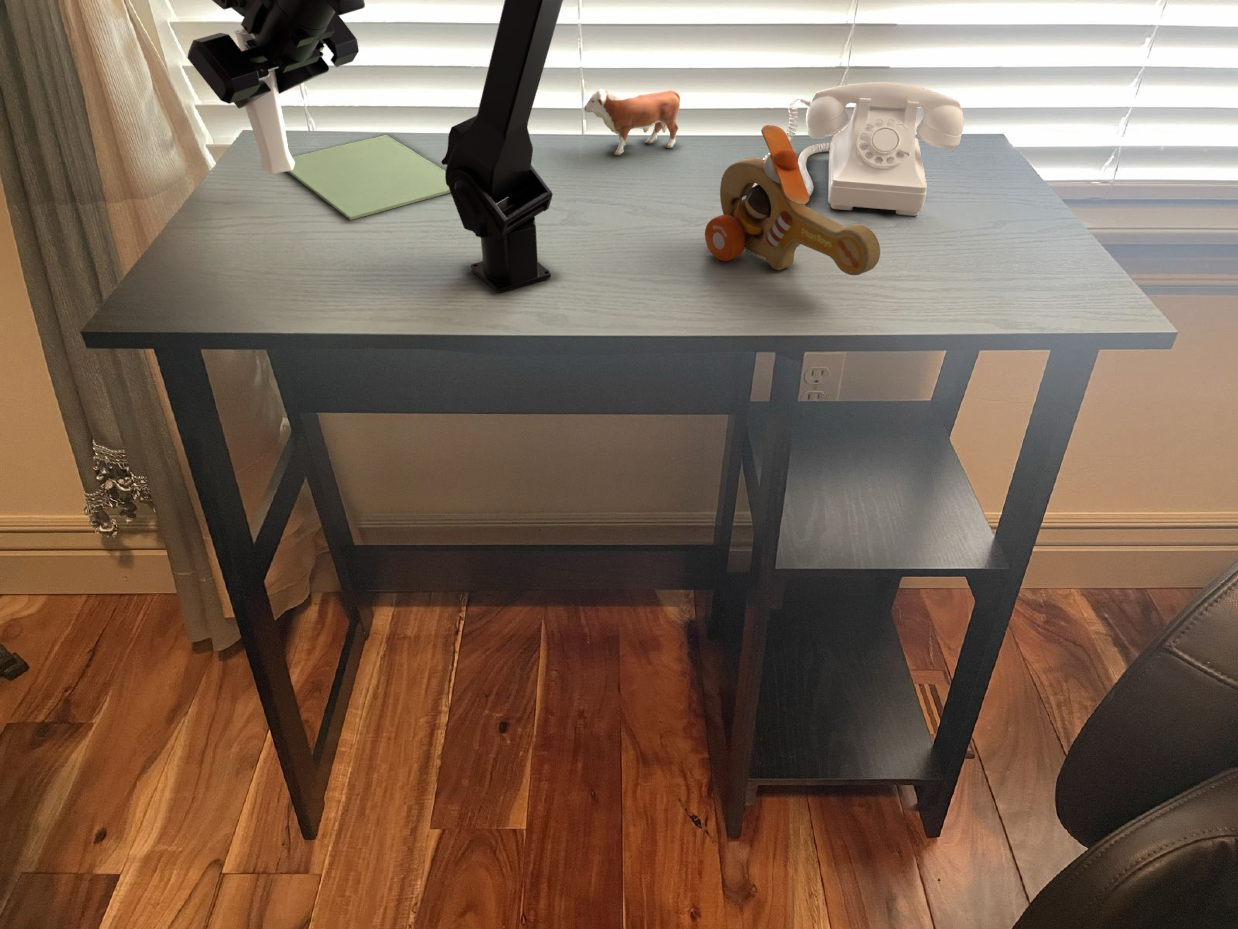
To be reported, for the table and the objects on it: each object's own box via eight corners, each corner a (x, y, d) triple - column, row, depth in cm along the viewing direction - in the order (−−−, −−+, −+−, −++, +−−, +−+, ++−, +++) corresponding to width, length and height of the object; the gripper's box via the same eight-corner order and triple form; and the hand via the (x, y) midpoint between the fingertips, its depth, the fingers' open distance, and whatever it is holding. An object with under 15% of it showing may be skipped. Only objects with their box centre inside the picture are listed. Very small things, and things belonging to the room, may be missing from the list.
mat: (468, 187, 117) (468, 184, 116) (350, 220, 109) (350, 217, 109) (386, 137, 130) (386, 134, 130) (276, 163, 122) (275, 160, 122)
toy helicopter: (746, 229, 108) (759, 109, 99) (890, 298, 96) (919, 168, 87) (695, 249, 104) (703, 125, 95) (838, 324, 92) (863, 190, 83)
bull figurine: (582, 147, 128) (581, 86, 123) (674, 138, 131) (676, 77, 126) (591, 158, 125) (590, 96, 119) (684, 149, 128) (688, 87, 123)
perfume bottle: (260, 161, 110) (225, 26, 101) (298, 158, 111) (266, 23, 101) (255, 176, 107) (217, 37, 97) (294, 173, 108) (261, 35, 98)
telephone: (745, 203, 114) (755, 99, 106) (756, 143, 130) (766, 49, 122) (955, 221, 110) (982, 115, 102) (940, 157, 126) (963, 61, 118)
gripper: (318, -79, 98) (270, 19, 110) (170, -50, 86) (133, 57, 97) (386, 11, 100) (331, 99, 112) (250, 52, 88) (204, 146, 99)
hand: (253, 98), depth 105 cm, fingers closed on perfume bottle, 4 cm apart
